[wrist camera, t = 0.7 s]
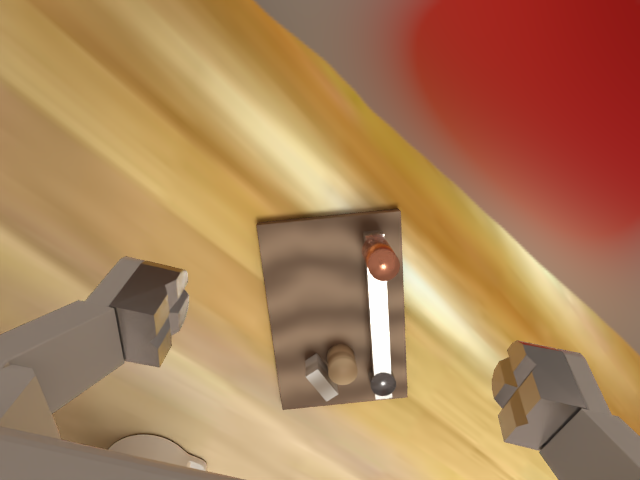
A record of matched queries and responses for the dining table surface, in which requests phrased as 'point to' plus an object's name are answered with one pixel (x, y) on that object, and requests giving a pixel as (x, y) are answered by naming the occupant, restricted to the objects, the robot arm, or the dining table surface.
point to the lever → (379, 309)
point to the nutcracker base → (328, 303)
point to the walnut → (341, 364)
